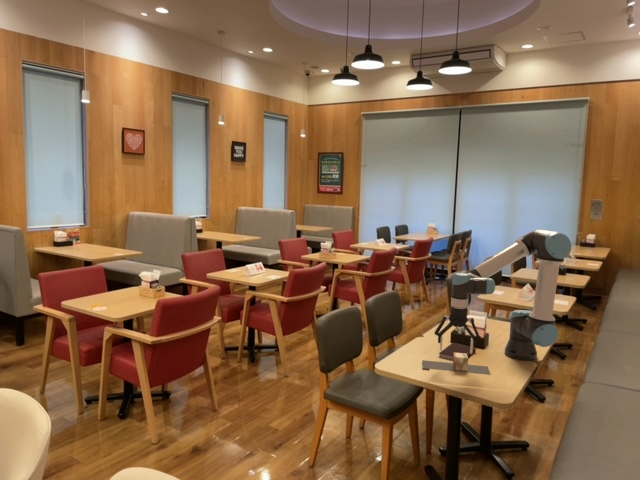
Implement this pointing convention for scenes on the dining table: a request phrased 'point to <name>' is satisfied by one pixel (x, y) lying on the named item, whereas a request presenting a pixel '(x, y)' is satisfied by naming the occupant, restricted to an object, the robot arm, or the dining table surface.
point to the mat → (449, 367)
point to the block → (460, 361)
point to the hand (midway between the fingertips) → (455, 351)
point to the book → (456, 350)
